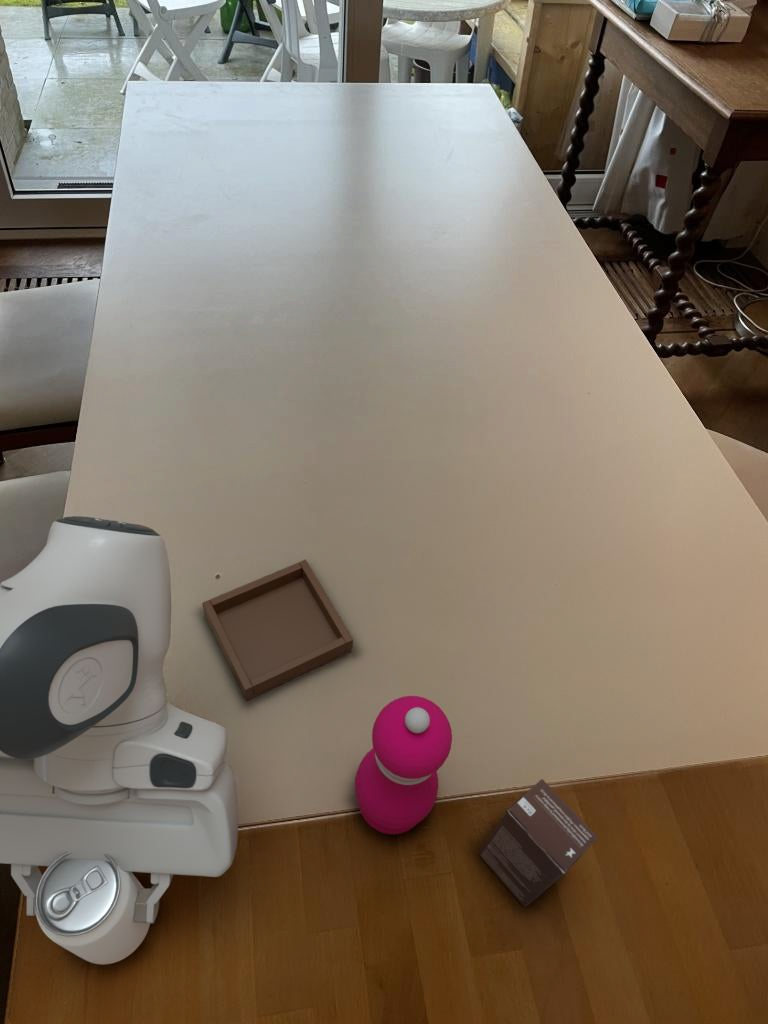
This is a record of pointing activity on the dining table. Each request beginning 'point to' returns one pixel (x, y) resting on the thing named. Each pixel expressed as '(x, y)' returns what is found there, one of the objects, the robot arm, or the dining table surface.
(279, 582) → the tray
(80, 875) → the can
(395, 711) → the pepper mill
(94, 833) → the robot arm
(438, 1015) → the dining table surface
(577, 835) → the box
